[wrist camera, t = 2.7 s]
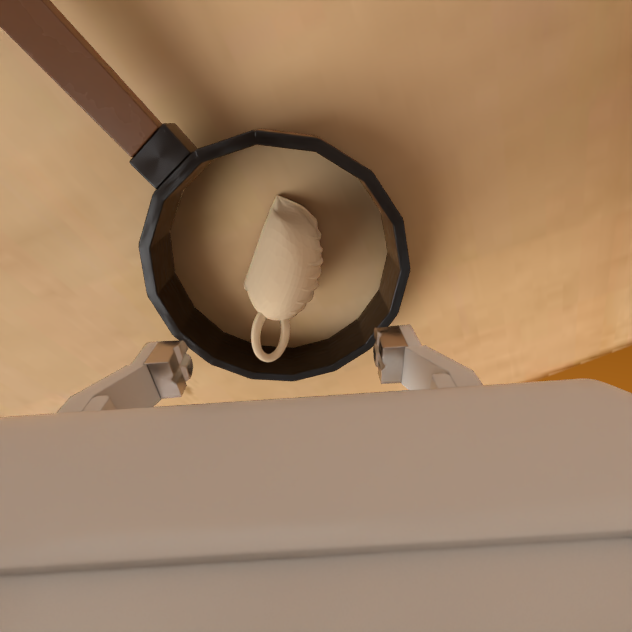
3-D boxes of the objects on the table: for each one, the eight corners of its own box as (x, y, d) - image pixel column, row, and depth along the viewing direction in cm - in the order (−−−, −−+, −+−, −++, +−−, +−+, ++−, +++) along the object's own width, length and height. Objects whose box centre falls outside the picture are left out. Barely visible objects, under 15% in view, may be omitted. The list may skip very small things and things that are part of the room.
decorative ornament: (338, 220, 20) (349, 249, 16) (286, 323, 24) (283, 370, 19) (278, 191, 19) (271, 213, 15) (234, 303, 23) (218, 349, 18)
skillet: (434, 275, 22) (453, 297, 20) (273, 382, 27) (271, 411, 24) (99, -237, 11) (36, -350, 9) (-80, 87, 16) (-159, 80, 13)
